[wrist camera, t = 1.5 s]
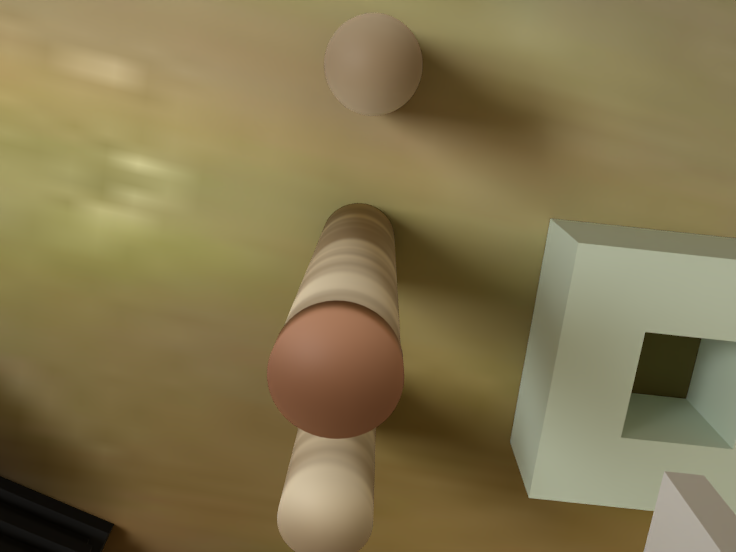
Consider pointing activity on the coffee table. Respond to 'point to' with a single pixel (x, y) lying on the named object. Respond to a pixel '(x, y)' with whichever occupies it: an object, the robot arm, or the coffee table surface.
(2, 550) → the chess piece
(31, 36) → the coffee table surface
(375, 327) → the pin long
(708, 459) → the collar block
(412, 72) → the pin short
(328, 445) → the pin medium
